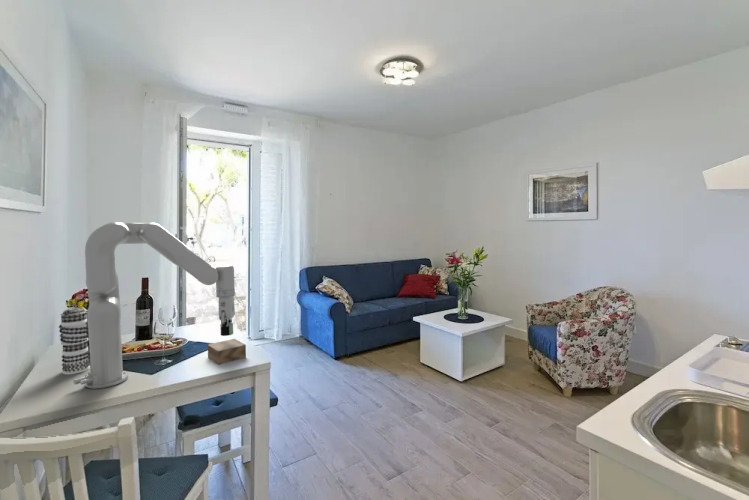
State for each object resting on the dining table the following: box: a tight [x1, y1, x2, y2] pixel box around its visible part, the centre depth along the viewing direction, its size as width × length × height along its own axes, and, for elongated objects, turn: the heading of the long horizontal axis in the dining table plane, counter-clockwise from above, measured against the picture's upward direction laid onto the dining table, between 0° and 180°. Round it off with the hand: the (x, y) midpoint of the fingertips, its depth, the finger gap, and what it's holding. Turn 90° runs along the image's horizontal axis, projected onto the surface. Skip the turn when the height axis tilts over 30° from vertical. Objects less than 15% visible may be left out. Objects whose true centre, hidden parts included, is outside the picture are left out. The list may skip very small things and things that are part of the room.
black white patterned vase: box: [58, 307, 90, 375], centre depth 140 cm, size 9×9×25 cm
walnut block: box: [207, 338, 247, 365], centre depth 155 cm, size 12×12×6 cm
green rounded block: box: [219, 322, 234, 336], centre depth 154 cm, size 5×5×4 cm
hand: (226, 332), depth 154 cm, fingers closed on green rounded block, 5 cm apart
